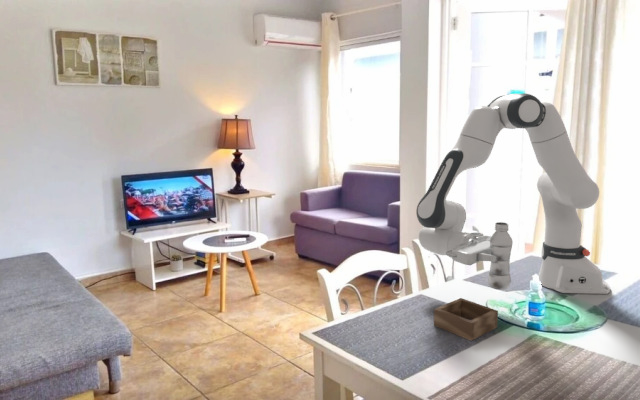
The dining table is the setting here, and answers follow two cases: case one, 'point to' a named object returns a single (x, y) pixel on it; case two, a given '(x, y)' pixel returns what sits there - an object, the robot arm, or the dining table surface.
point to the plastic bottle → (500, 257)
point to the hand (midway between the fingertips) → (503, 256)
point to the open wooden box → (452, 322)
